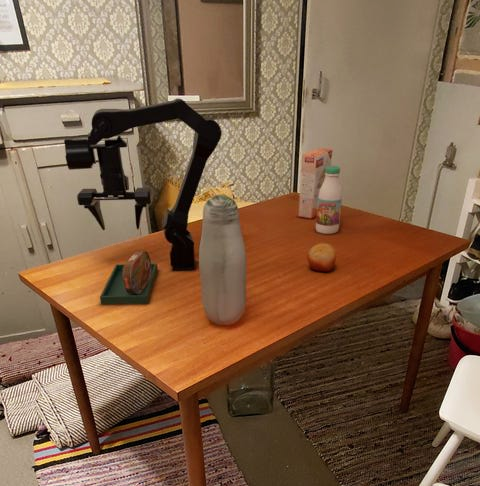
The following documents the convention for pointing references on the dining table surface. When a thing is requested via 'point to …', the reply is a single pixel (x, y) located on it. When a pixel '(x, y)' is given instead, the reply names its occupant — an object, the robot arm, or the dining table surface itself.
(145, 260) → the tin
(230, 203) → the glass bottle
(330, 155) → the cracker box
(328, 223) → the milk bottle
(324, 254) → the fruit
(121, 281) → the tray
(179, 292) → the dining table surface
